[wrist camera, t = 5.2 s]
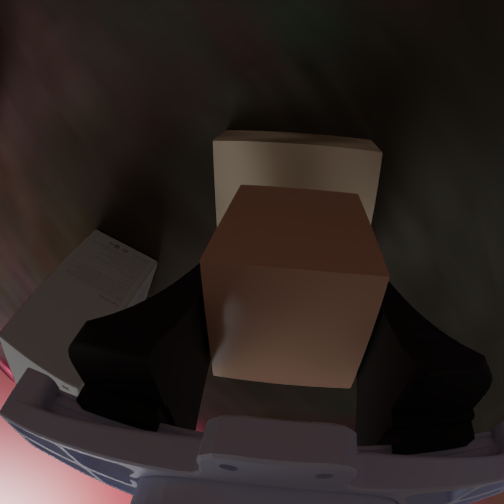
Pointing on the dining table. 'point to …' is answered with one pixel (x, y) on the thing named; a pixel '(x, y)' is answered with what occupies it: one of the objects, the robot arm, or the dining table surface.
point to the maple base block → (295, 164)
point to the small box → (74, 306)
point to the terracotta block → (292, 286)
